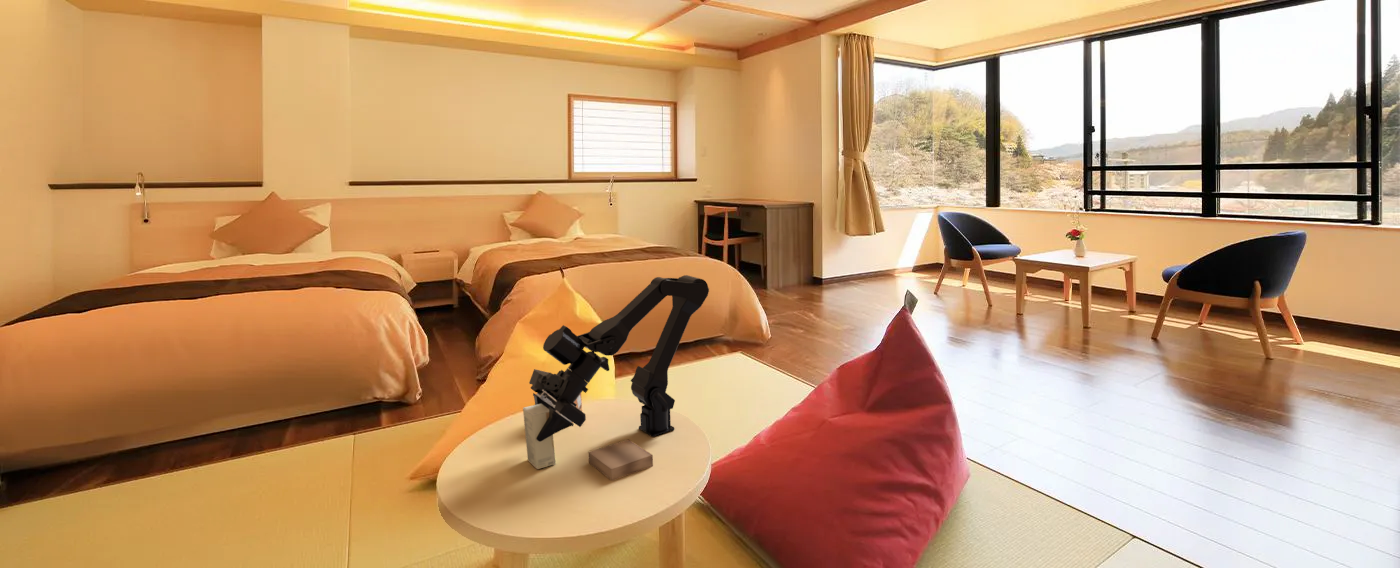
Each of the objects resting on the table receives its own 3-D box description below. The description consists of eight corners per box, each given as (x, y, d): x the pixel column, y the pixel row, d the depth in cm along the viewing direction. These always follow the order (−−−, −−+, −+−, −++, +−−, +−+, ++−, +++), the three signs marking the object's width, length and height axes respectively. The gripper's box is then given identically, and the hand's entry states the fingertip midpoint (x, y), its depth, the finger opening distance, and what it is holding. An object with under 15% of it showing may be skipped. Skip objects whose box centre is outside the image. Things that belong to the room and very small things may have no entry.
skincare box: (556, 464, 137) (552, 411, 135) (536, 470, 135) (532, 416, 132) (545, 453, 142) (541, 402, 140) (526, 459, 140) (522, 406, 138)
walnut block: (628, 451, 144) (628, 439, 143) (653, 467, 136) (652, 454, 135) (589, 464, 138) (588, 452, 137) (612, 482, 130) (611, 469, 130)
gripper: (536, 345, 144) (491, 402, 140) (568, 367, 128) (518, 431, 125) (571, 371, 150) (528, 427, 146) (605, 395, 134) (559, 458, 130)
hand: (532, 435), depth 137 cm, fingers closed on skincare box, 6 cm apart
